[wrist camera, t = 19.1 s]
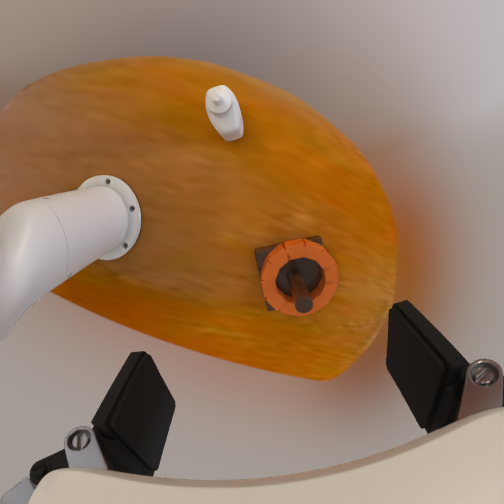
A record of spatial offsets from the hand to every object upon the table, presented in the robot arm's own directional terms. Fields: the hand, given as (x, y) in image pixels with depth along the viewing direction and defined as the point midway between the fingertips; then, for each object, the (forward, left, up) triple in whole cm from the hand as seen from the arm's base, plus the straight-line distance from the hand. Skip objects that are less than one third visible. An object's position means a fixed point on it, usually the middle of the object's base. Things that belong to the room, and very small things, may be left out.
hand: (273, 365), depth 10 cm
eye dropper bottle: (-1, +14, -28) cm, 32 cm away
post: (+3, -8, -28) cm, 29 cm away
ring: (+4, -8, -27) cm, 28 cm away
